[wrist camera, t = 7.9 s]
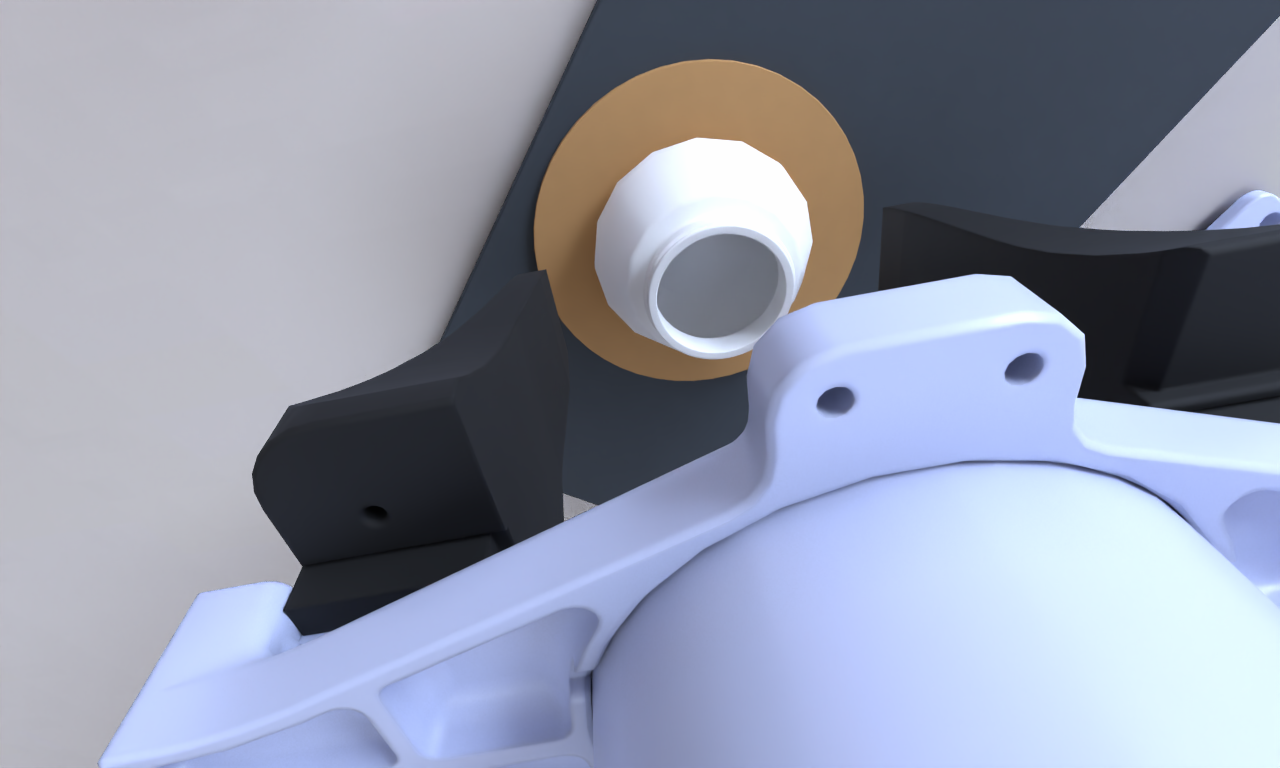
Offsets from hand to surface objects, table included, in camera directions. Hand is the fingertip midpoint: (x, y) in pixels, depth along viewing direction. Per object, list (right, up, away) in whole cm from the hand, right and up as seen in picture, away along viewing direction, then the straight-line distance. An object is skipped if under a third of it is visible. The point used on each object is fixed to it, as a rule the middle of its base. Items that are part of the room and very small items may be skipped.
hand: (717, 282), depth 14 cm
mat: (+2, +2, +3) cm, 4 cm away
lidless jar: (0, +1, +2) cm, 2 cm away
